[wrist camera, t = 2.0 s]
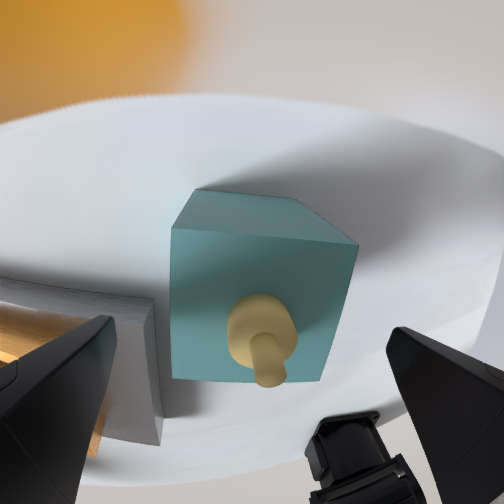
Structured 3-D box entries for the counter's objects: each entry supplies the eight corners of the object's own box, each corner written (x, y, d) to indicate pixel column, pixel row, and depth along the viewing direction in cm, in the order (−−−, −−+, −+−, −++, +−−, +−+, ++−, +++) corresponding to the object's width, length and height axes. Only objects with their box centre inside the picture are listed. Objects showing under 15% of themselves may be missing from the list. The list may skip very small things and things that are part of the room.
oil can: (296, 199, 16) (403, 280, 6) (281, 290, 18) (339, 430, 8) (195, 189, 15) (150, 262, 6) (189, 284, 17) (164, 433, 7)
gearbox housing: (153, 298, 17) (130, 362, 12) (163, 418, 21) (156, 476, 16) (-44, 268, 15) (-86, 298, 9) (-7, 375, 18) (-32, 412, 13)
